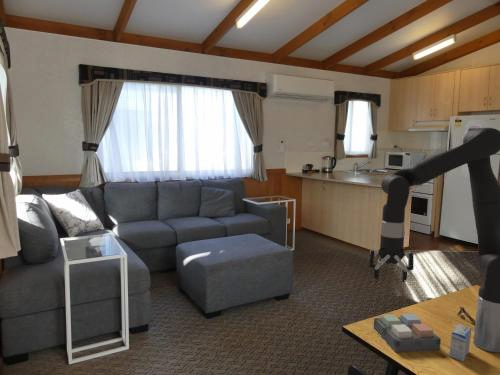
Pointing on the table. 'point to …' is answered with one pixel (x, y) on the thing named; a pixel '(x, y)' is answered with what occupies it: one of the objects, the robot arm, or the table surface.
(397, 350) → the keypad
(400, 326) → the cream key
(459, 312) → the wooden post with brackets
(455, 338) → the medicine box
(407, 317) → the blue key
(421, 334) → the terracotta key
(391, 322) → the sage key
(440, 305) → the table surface
